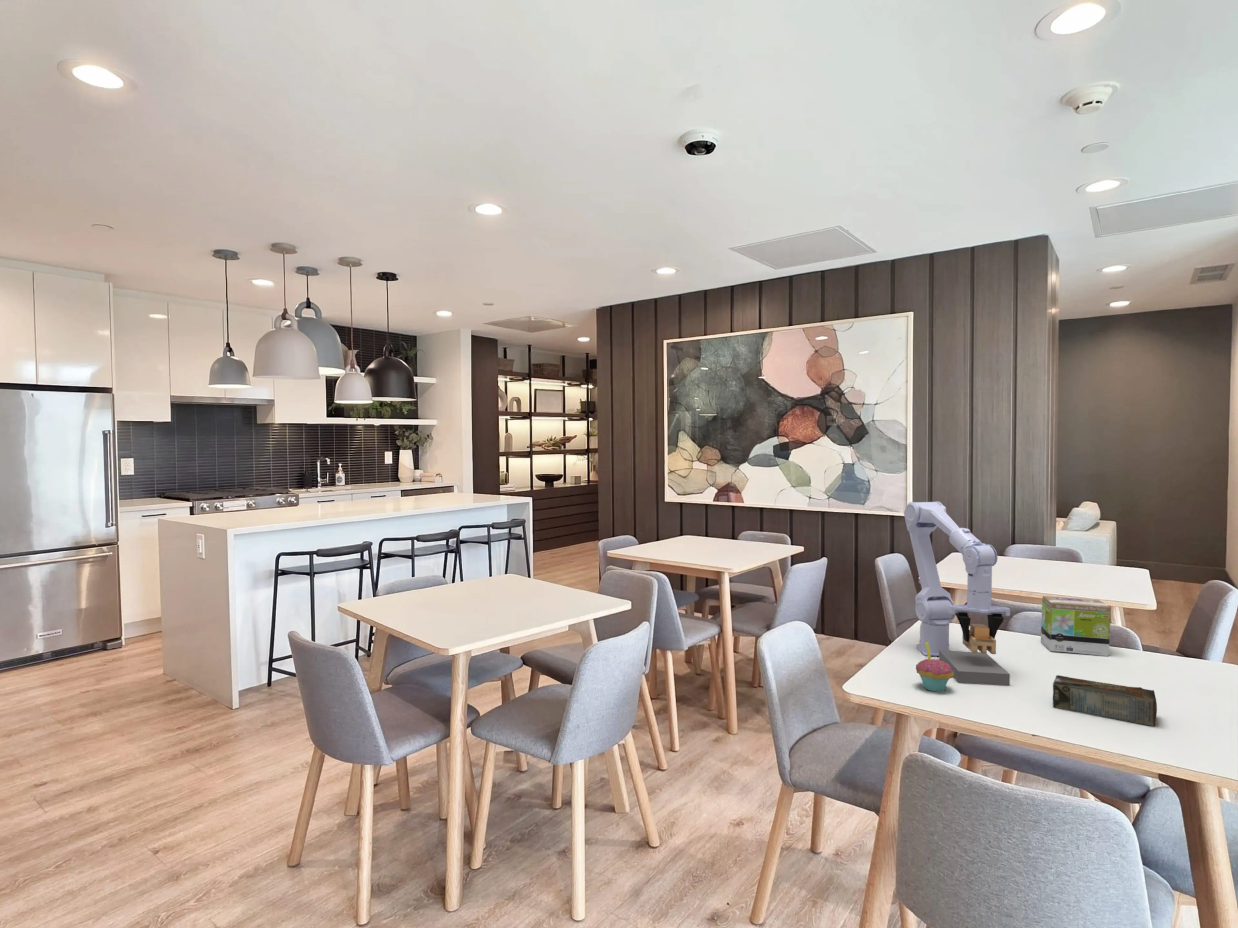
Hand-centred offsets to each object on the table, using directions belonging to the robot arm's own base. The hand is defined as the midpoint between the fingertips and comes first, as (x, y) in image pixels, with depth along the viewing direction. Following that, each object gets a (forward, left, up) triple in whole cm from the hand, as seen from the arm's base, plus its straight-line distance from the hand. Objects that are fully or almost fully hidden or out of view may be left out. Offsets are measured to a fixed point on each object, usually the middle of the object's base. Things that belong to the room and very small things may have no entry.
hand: (978, 641), depth 183 cm
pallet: (0, 0, -2) cm, 2 cm away
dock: (0, -2, -8) cm, 9 cm away
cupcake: (+14, -15, -9) cm, 22 cm away
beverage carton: (+24, +19, -9) cm, 32 cm away
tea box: (-27, +34, -9) cm, 44 cm away
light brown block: (0, 0, +1) cm, 1 cm away
